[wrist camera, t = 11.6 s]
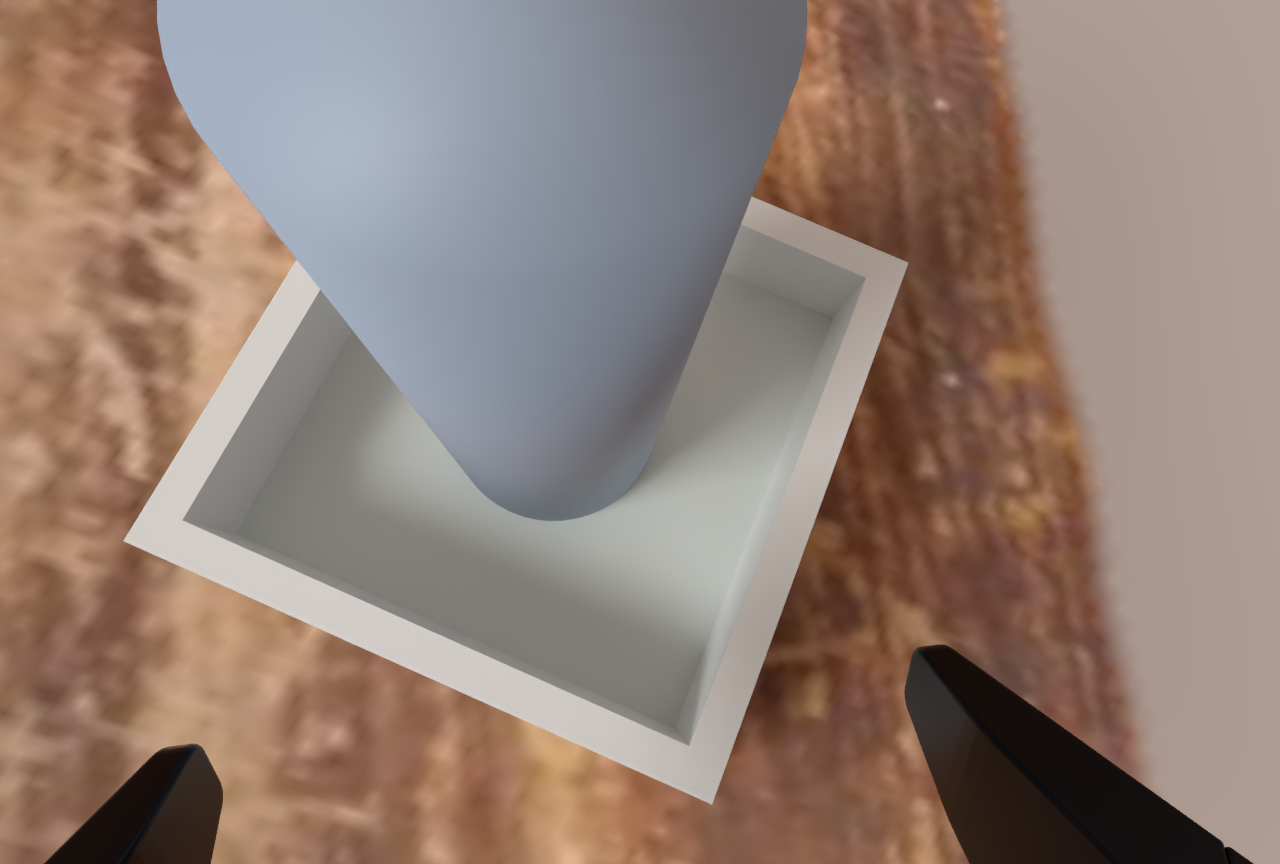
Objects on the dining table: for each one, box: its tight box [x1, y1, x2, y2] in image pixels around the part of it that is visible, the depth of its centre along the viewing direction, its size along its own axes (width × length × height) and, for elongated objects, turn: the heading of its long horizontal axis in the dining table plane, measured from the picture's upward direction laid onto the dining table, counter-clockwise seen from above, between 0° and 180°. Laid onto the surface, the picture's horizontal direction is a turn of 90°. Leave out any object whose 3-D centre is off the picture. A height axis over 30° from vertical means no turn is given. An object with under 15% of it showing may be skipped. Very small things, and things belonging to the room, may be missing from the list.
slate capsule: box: [157, 0, 807, 521], centre depth 12 cm, size 5×5×13 cm
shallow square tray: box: [124, 197, 908, 804], centre depth 18 cm, size 13×13×3 cm
